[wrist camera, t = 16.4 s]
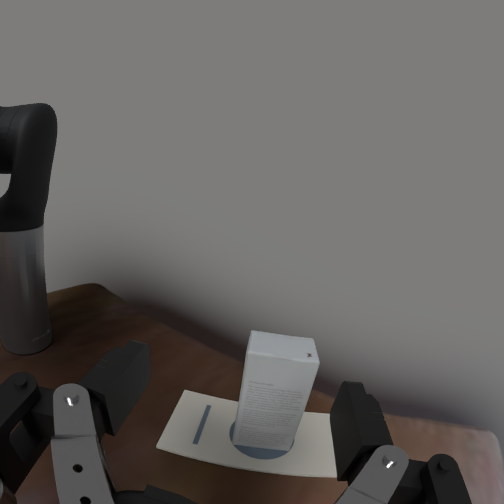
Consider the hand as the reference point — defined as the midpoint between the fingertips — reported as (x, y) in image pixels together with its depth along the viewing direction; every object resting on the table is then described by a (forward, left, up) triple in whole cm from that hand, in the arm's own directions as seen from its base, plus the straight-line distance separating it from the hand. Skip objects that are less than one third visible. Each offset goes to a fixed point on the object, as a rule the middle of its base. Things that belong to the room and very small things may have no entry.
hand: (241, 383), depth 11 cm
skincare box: (+3, +12, -17) cm, 21 cm away
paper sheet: (+2, +12, -17) cm, 21 cm away
